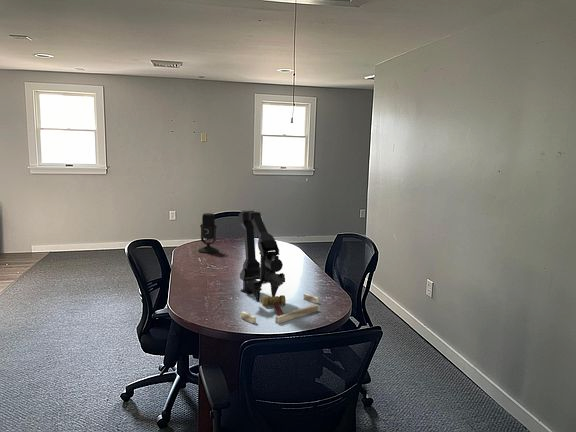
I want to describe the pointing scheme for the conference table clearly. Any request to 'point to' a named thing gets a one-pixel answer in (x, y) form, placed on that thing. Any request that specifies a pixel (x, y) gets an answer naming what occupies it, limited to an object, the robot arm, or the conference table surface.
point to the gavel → (274, 302)
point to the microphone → (208, 233)
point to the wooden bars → (289, 315)
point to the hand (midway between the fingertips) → (265, 299)
